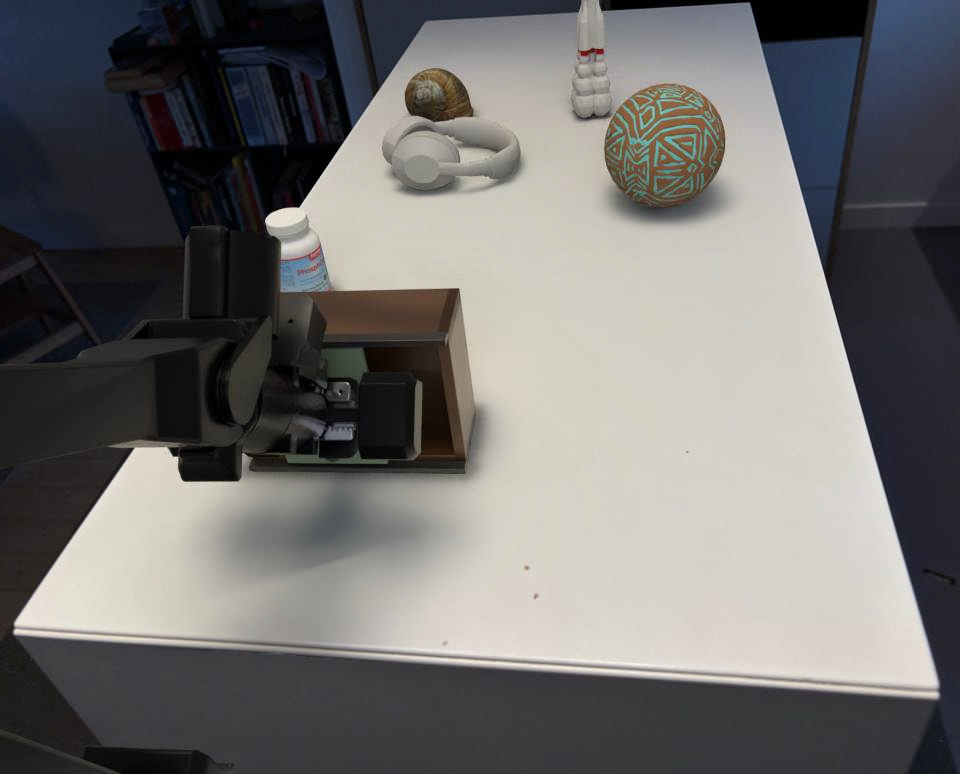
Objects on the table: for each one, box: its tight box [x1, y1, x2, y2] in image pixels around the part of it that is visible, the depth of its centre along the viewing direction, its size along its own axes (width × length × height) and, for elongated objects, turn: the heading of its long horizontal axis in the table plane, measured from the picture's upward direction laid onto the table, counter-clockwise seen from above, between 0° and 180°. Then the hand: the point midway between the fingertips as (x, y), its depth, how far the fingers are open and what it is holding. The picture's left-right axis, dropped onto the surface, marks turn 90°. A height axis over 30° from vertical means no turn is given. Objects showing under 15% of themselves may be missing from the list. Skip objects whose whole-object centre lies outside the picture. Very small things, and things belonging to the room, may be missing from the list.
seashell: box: [404, 67, 474, 122], centre depth 137 cm, size 11×9×8 cm
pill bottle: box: [264, 207, 333, 292], centre depth 93 cm, size 6×6×11 cm
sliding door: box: [285, 347, 389, 464], centre depth 68 cm, size 4×9×13 cm, turn 84°
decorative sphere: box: [603, 83, 726, 208], centre depth 103 cm, size 15×15×15 cm
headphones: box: [381, 115, 522, 191], centre depth 120 cm, size 18×8×20 cm
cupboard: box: [248, 287, 477, 474], centre depth 71 cm, size 8×20×14 cm, turn 84°
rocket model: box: [570, 0, 613, 119], centre depth 125 cm, size 7×7×30 cm
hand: (331, 423), depth 67 cm, fingers closed on sliding door, 2 cm apart
